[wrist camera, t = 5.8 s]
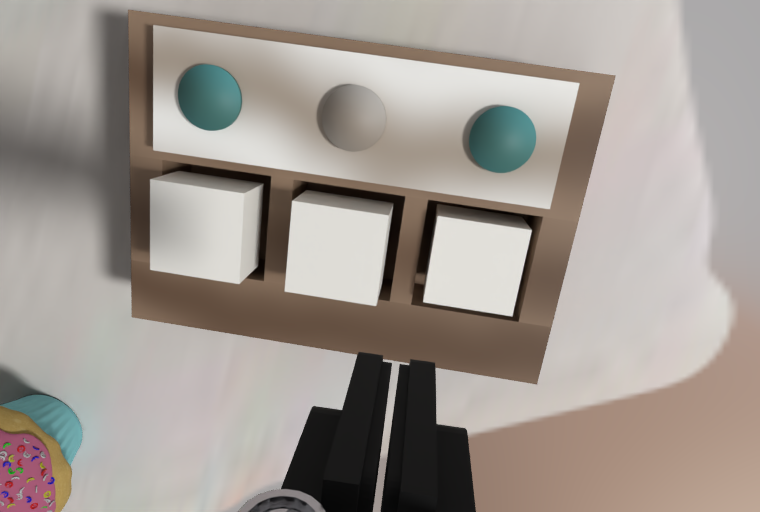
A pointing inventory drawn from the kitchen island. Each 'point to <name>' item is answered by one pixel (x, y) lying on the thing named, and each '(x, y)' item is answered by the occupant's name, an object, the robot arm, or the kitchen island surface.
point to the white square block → (476, 259)
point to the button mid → (337, 247)
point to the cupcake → (37, 454)
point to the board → (404, 242)
